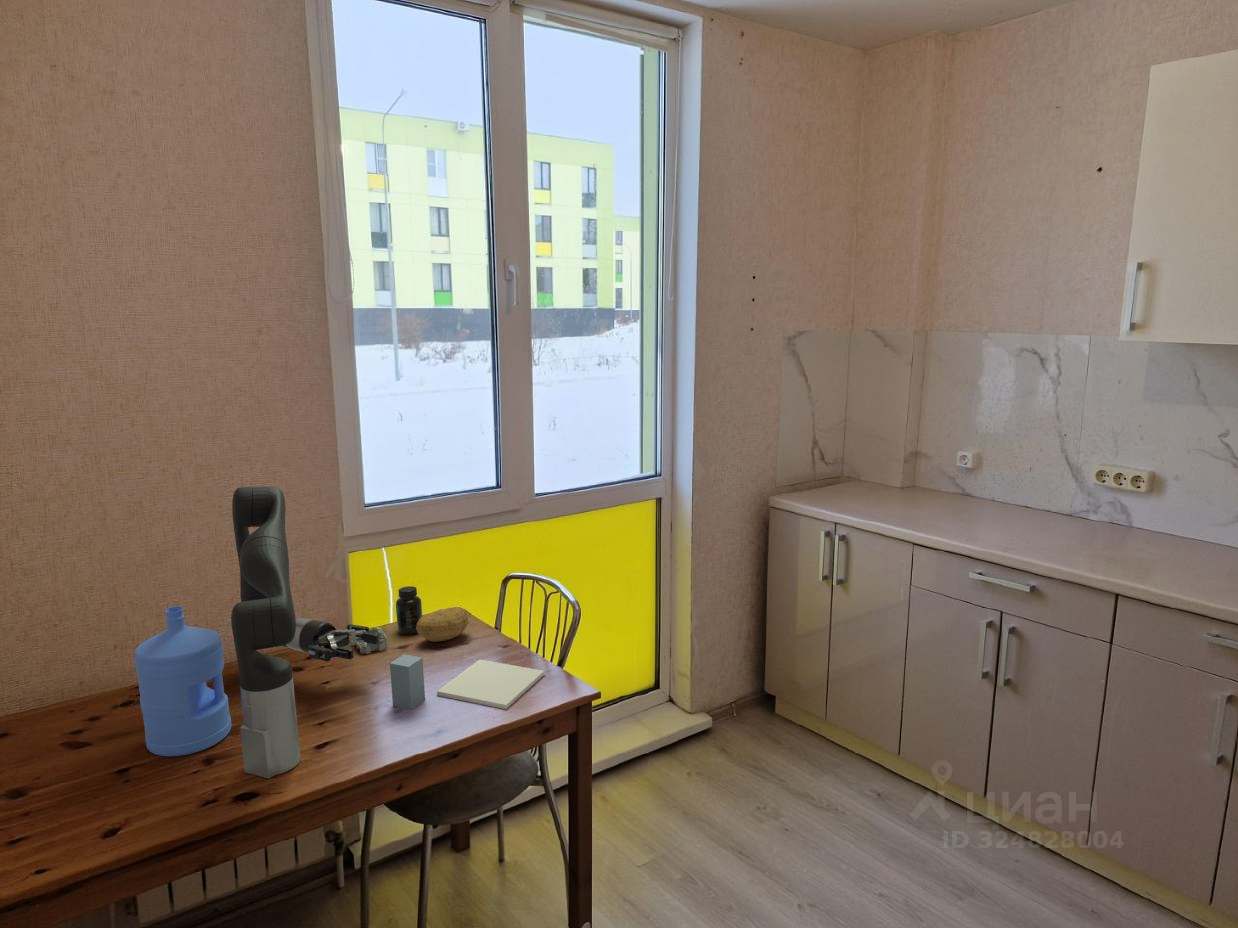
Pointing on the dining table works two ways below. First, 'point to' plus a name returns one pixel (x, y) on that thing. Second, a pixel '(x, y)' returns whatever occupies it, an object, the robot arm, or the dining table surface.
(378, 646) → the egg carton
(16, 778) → the dining table surface
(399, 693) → the slate block
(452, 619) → the potato
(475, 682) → the cream tile
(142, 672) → the water jug
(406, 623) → the supplement bottle
